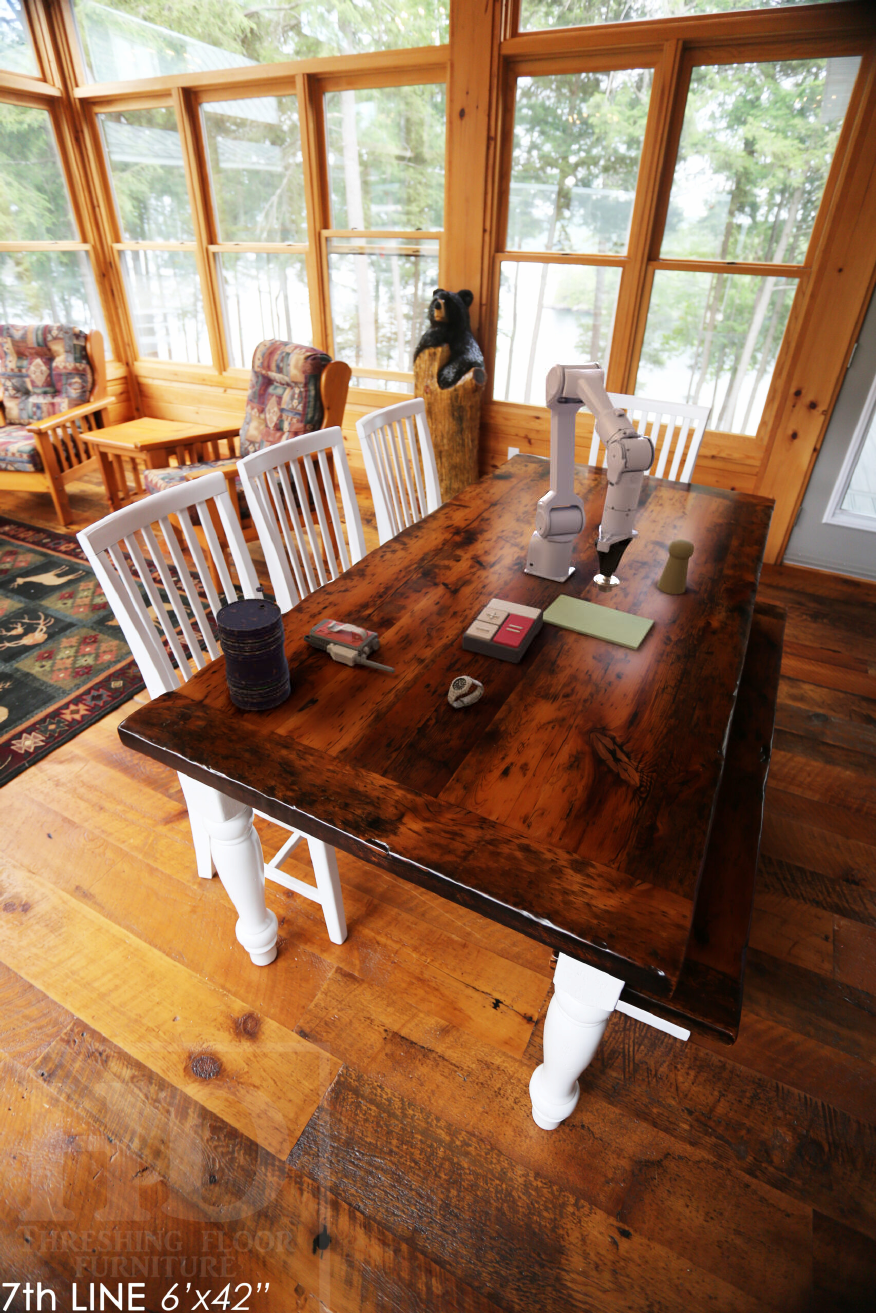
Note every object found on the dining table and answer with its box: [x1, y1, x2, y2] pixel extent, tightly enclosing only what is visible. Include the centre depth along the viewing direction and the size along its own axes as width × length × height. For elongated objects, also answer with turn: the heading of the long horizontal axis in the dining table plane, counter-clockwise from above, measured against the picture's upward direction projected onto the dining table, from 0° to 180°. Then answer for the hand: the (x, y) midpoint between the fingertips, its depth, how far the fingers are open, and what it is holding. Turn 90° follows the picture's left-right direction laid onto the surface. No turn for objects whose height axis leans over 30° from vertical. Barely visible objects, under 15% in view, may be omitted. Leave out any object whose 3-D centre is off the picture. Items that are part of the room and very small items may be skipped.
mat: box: [542, 594, 655, 651], centre depth 129 cm, size 20×12×1 cm, turn 59°
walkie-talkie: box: [302, 618, 396, 674], centre depth 116 cm, size 9×4×20 cm
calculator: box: [461, 598, 545, 664], centre depth 122 cm, size 11×4×15 cm
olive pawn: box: [656, 538, 695, 595], centre depth 140 cm, size 6×6×11 cm
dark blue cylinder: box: [215, 586, 291, 711], centre depth 102 cm, size 10×10×18 cm
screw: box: [593, 541, 620, 594], centre depth 123 cm, size 13×5×5 cm
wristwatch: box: [447, 675, 485, 709], centre depth 104 cm, size 4×6×5 cm, turn 119°
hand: (607, 573), depth 125 cm, fingers closed on screw, 2 cm apart
